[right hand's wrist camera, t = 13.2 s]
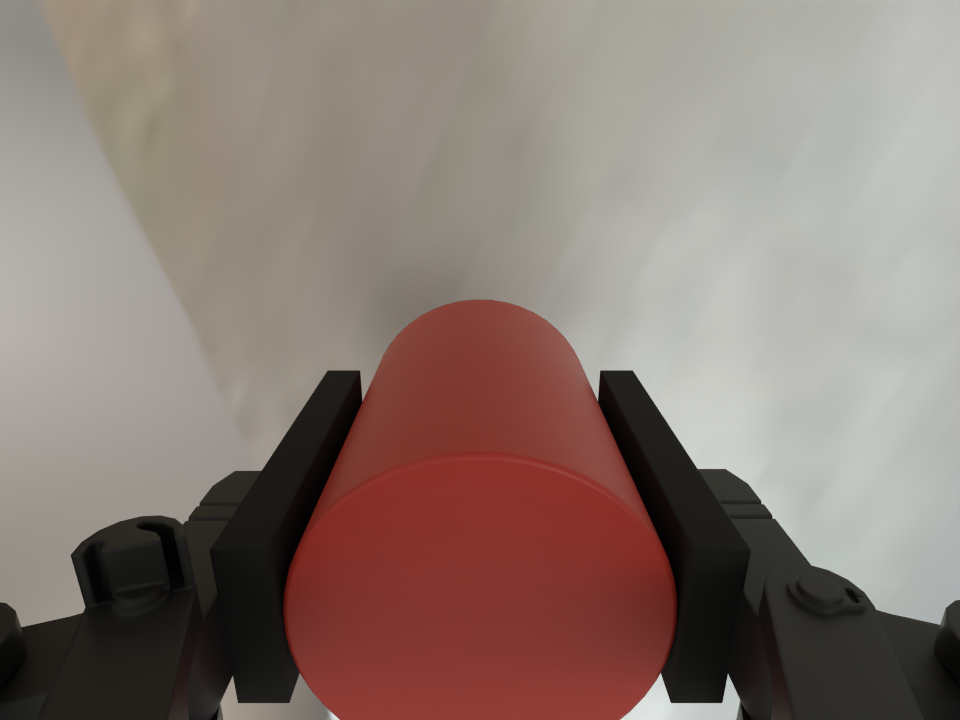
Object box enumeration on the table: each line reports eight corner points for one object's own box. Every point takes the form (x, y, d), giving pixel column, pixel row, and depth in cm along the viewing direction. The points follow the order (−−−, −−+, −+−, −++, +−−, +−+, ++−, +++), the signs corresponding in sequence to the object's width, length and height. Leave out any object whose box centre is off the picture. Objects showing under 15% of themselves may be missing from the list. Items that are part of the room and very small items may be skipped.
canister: (339, 441, 16) (224, 690, 9) (432, 258, 14) (383, 380, 7) (520, 523, 17) (550, 811, 10) (627, 361, 15) (762, 563, 8)
